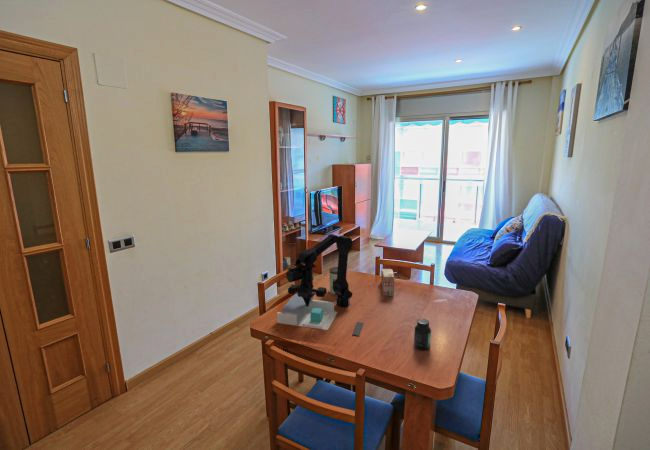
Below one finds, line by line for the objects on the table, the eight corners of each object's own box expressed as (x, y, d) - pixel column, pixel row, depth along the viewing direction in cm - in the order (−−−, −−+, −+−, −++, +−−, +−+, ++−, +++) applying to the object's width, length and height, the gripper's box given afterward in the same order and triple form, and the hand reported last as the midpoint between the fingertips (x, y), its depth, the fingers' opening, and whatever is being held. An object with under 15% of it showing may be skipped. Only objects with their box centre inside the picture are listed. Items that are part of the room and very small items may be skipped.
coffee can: (345, 288, 210) (345, 266, 207) (346, 294, 200) (346, 272, 197) (329, 288, 210) (329, 266, 207) (329, 294, 200) (329, 272, 197)
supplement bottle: (433, 349, 144) (434, 324, 141) (418, 351, 142) (419, 326, 140) (425, 341, 150) (426, 316, 148) (411, 343, 149) (412, 318, 146)
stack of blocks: (380, 282, 219) (381, 264, 217) (390, 282, 219) (391, 264, 216) (383, 295, 198) (383, 276, 196) (393, 296, 198) (394, 276, 195)
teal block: (323, 318, 170) (322, 308, 169) (320, 322, 166) (320, 313, 165) (313, 316, 172) (313, 307, 171) (310, 321, 167) (310, 312, 166)
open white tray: (337, 313, 177) (337, 302, 176) (327, 331, 159) (327, 319, 158) (291, 307, 184) (291, 297, 183) (277, 324, 166) (277, 312, 165)
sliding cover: (312, 299, 179) (312, 295, 179) (301, 314, 163) (301, 310, 162) (295, 297, 182) (295, 293, 182) (282, 312, 165) (282, 308, 165)
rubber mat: (363, 323, 166) (363, 322, 166) (359, 336, 155) (359, 335, 155) (340, 320, 170) (340, 319, 170) (333, 332, 158) (333, 331, 158)
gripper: (282, 281, 160) (284, 311, 164) (320, 285, 155) (320, 316, 159) (291, 273, 171) (292, 301, 174) (326, 276, 166) (327, 305, 169)
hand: (307, 306), depth 169 cm, fingers closed
